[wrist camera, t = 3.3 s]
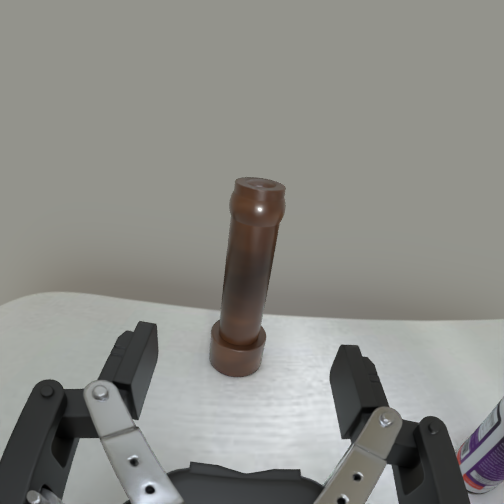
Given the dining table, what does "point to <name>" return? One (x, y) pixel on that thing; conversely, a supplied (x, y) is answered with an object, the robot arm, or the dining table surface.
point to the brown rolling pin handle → (247, 275)
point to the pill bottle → (484, 453)
